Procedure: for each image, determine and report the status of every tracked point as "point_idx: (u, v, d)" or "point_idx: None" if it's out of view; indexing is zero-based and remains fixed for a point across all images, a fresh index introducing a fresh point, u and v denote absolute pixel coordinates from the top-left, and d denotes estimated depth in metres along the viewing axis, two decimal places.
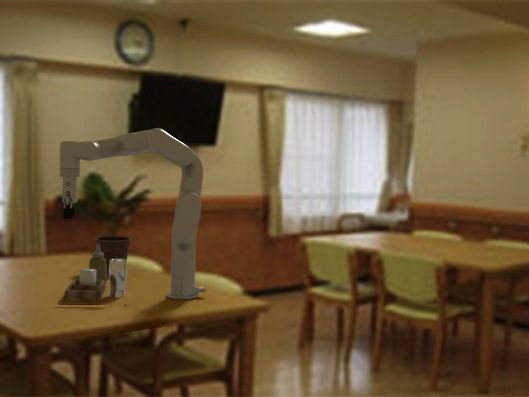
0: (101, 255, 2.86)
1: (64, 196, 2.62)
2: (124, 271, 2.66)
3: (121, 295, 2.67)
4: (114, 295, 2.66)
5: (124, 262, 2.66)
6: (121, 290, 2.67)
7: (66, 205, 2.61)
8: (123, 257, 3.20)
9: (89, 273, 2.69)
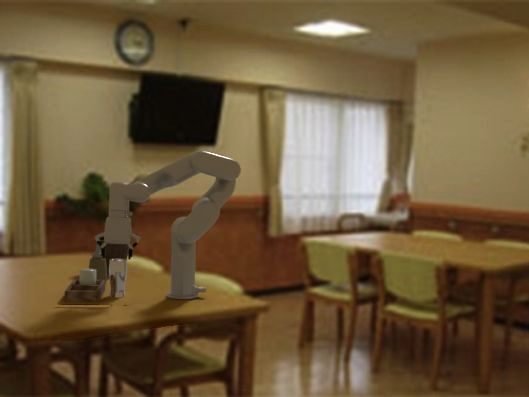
0: None
1: (130, 237, 2.66)
2: (124, 271, 2.66)
3: (121, 295, 2.67)
4: (114, 295, 2.66)
5: (124, 262, 2.66)
6: (121, 290, 2.67)
7: (135, 245, 2.68)
8: (123, 257, 3.20)
9: (89, 273, 2.69)
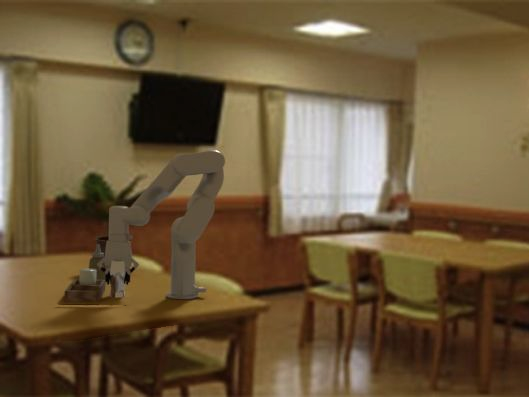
0: (101, 255, 2.86)
1: (131, 261, 2.67)
2: (124, 271, 2.66)
3: (121, 295, 2.67)
4: (114, 295, 2.66)
5: None
6: (121, 290, 2.67)
7: None
8: None
9: (89, 273, 2.69)
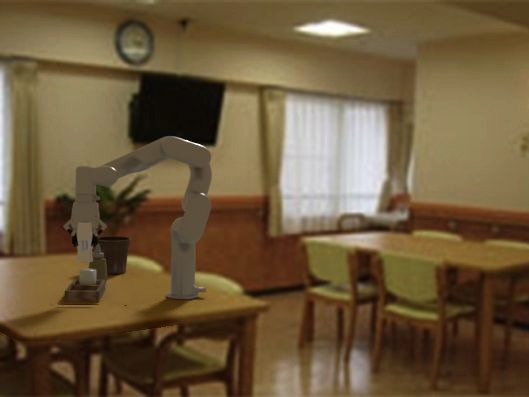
0: (101, 255, 2.86)
1: (98, 222, 2.59)
2: (91, 233, 2.58)
3: (88, 258, 2.59)
4: (81, 257, 2.58)
5: None
6: (88, 253, 2.59)
7: (100, 233, 2.61)
8: (123, 257, 3.20)
9: (89, 273, 2.69)
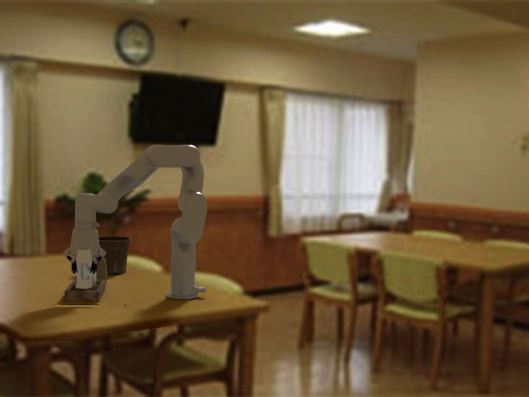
0: None
1: (97, 249, 2.60)
2: (91, 260, 2.59)
3: (87, 284, 2.59)
4: (80, 284, 2.59)
5: None
6: (87, 279, 2.60)
7: None
8: (123, 257, 3.20)
9: None
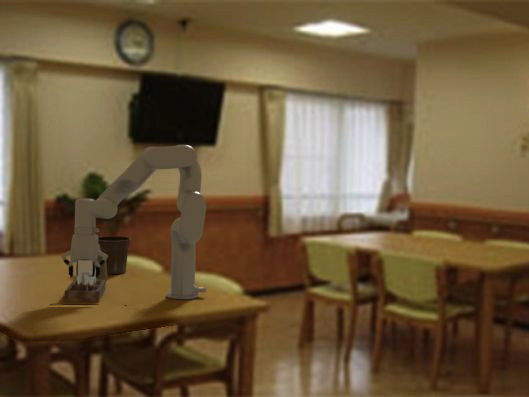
0: None
1: (97, 255, 2.60)
2: (91, 270, 2.59)
3: None
4: None
5: (91, 261, 2.59)
6: (88, 290, 2.60)
7: None
8: (123, 257, 3.20)
9: None
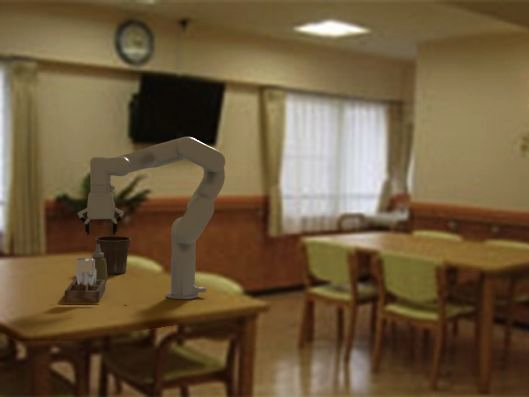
0: (101, 255, 2.86)
1: (114, 212, 2.65)
2: (91, 270, 2.59)
3: None
4: None
5: (91, 261, 2.59)
6: (88, 290, 2.60)
7: (119, 220, 2.67)
8: (123, 257, 3.20)
9: None
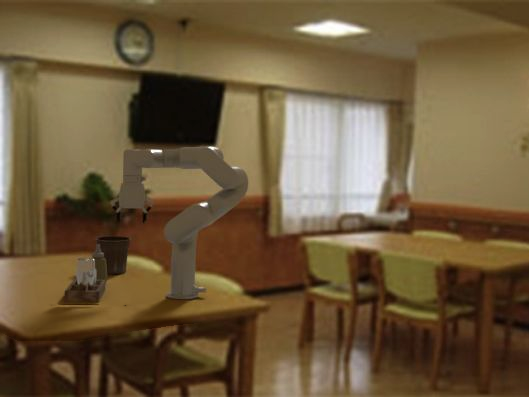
0: (101, 255, 2.86)
1: (144, 202, 2.78)
2: (91, 270, 2.59)
3: None
4: None
5: (91, 261, 2.59)
6: (88, 290, 2.60)
7: None
8: (123, 257, 3.20)
9: None
